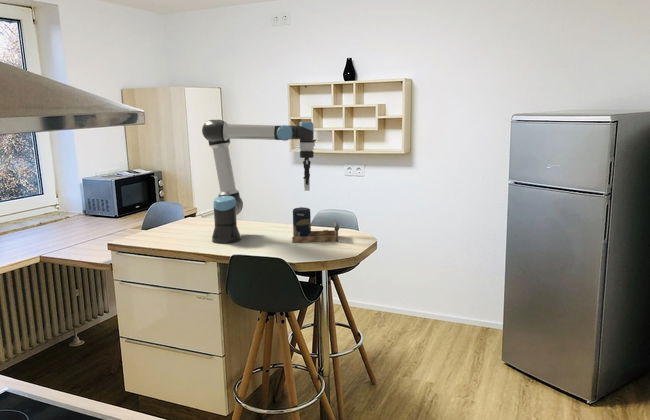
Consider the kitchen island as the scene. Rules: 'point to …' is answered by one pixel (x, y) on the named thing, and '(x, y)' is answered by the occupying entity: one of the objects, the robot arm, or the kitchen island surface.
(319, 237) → the bay
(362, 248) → the kitchen island surface
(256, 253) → the kitchen island surface
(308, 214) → the canister
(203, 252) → the kitchen island surface
